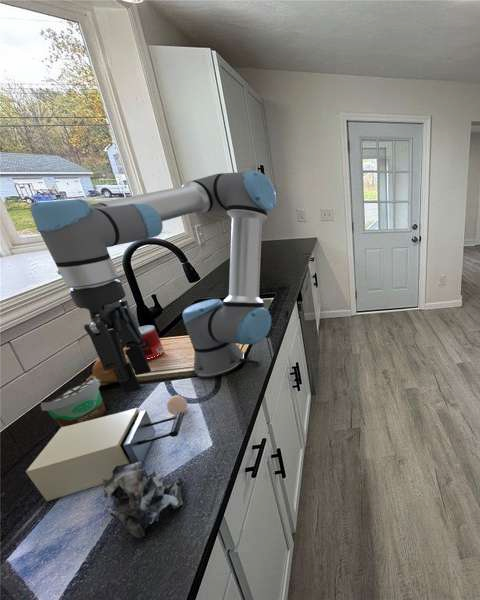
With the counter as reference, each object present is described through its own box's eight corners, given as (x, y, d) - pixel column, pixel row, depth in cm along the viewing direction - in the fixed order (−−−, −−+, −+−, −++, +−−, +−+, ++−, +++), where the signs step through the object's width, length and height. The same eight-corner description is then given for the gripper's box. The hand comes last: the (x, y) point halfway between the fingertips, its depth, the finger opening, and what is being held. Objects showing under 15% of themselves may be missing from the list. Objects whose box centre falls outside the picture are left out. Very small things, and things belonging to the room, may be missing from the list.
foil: (87, 557, 51) (90, 464, 58) (122, 554, 59) (121, 473, 66) (171, 519, 55) (164, 437, 63) (192, 521, 64) (184, 449, 71)
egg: (181, 419, 84) (174, 402, 82) (166, 418, 85) (159, 401, 83) (193, 407, 89) (187, 391, 86) (179, 407, 89) (172, 391, 87)
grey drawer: (190, 421, 82) (182, 400, 80) (181, 453, 73) (171, 431, 70) (89, 450, 75) (76, 428, 73) (63, 490, 65) (48, 467, 63)
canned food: (162, 348, 122) (152, 323, 118) (166, 355, 117) (156, 329, 113) (138, 356, 117) (126, 330, 113) (141, 364, 112) (129, 337, 108)
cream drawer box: (149, 434, 80) (137, 407, 77) (132, 474, 69) (117, 445, 66) (77, 455, 75) (60, 427, 72) (46, 501, 64) (25, 471, 61)
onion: (97, 381, 104) (84, 355, 100) (134, 367, 110) (123, 342, 107) (102, 392, 98) (88, 365, 94) (141, 377, 104) (129, 351, 101)
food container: (74, 437, 81) (56, 406, 77) (56, 434, 82) (37, 404, 78) (122, 404, 92) (108, 376, 88) (106, 402, 93) (91, 374, 89)
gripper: (92, 273, 68) (133, 363, 76) (38, 304, 51) (97, 415, 60) (134, 268, 70) (169, 355, 79) (95, 295, 53) (145, 403, 62)
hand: (138, 381), depth 69 cm, fingers open, 6 cm apart
